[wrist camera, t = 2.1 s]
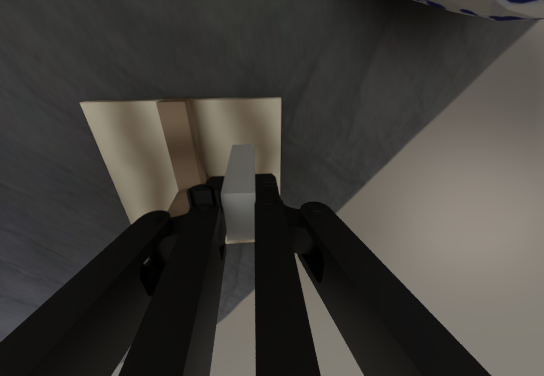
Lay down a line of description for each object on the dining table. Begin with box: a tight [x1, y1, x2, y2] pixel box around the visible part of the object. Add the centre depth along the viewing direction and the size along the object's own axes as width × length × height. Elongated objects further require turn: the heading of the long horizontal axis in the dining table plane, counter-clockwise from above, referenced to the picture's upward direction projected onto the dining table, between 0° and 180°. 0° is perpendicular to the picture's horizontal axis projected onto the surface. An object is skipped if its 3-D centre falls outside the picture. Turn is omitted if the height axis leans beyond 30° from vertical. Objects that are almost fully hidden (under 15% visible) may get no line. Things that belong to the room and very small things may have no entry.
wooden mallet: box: [156, 97, 210, 217], centre depth 27 cm, size 22×4×7 cm, turn 1°
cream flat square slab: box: [80, 97, 281, 244], centre depth 31 cm, size 22×22×1 cm
